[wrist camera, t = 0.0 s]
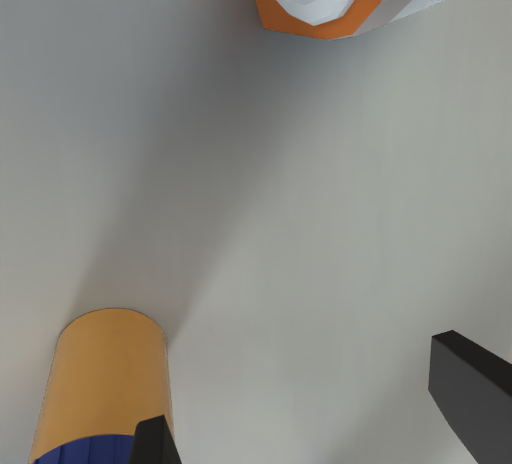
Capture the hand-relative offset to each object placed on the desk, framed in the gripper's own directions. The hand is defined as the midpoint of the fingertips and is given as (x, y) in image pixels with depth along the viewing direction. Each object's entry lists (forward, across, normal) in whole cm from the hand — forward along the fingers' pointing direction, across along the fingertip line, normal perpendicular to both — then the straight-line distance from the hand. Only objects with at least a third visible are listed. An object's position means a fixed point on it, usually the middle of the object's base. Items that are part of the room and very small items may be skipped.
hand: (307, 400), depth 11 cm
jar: (+10, +7, +5) cm, 13 cm away
